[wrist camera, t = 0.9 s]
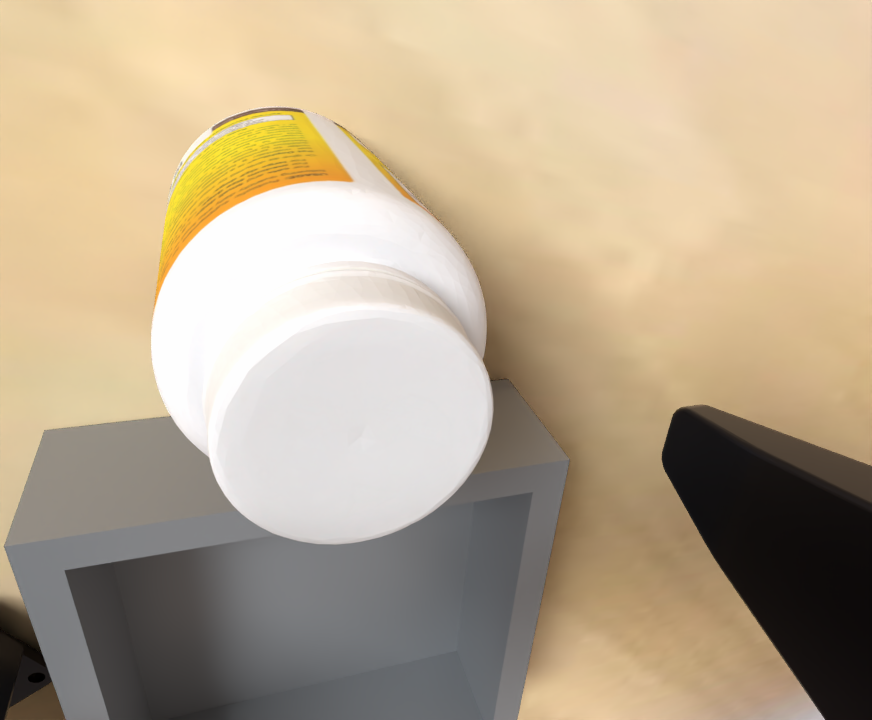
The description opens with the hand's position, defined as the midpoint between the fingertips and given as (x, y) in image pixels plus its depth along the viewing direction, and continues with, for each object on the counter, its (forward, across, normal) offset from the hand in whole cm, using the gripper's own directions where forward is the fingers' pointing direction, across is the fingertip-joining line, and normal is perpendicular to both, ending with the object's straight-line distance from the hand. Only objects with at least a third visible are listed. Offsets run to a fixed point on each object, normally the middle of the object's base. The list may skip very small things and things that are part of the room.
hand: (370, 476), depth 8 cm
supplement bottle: (+11, 0, 0) cm, 11 cm away
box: (+11, 0, +13) cm, 17 cm away
